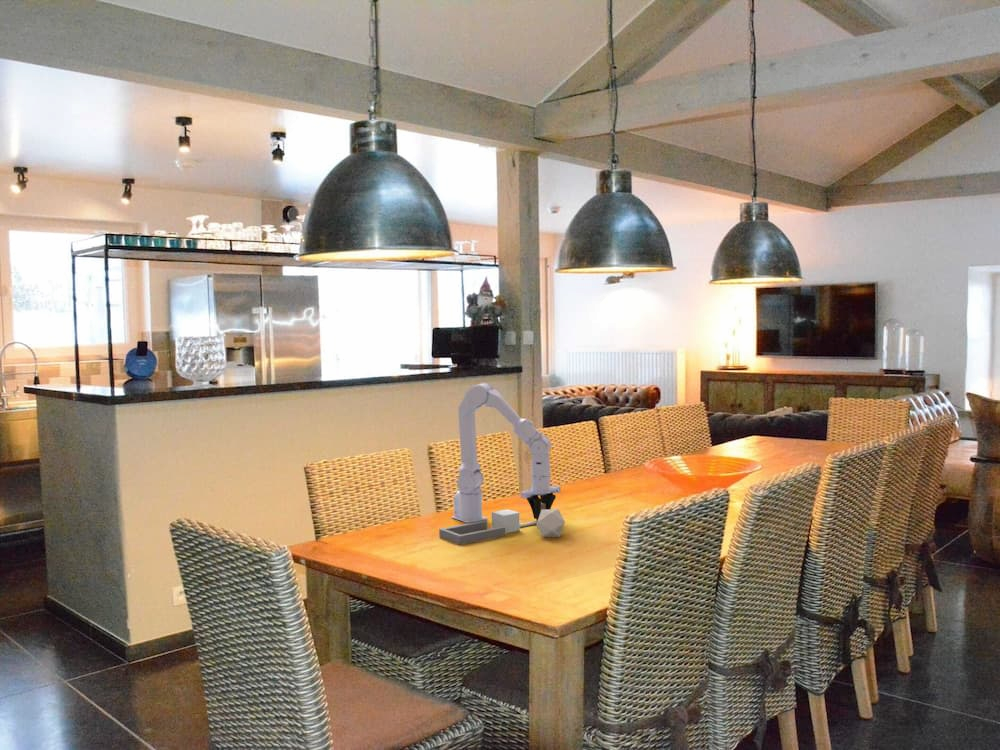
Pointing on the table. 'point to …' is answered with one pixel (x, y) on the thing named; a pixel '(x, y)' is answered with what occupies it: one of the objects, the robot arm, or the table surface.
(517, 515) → the tethered block
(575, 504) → the table surface
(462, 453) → the robot arm
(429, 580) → the table surface
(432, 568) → the table surface
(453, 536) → the dark grey tray
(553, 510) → the die
